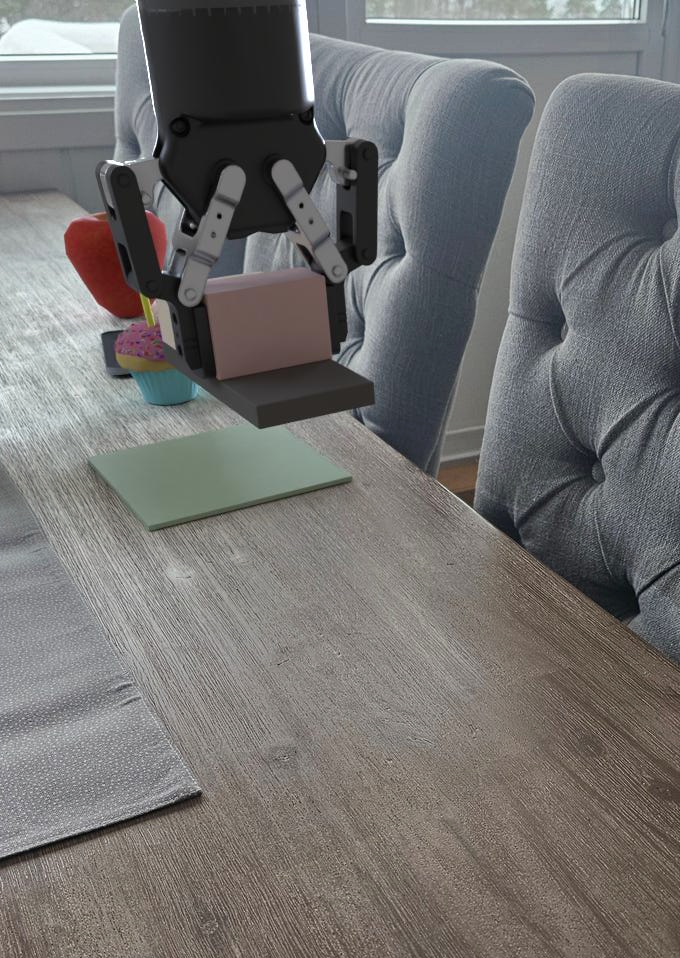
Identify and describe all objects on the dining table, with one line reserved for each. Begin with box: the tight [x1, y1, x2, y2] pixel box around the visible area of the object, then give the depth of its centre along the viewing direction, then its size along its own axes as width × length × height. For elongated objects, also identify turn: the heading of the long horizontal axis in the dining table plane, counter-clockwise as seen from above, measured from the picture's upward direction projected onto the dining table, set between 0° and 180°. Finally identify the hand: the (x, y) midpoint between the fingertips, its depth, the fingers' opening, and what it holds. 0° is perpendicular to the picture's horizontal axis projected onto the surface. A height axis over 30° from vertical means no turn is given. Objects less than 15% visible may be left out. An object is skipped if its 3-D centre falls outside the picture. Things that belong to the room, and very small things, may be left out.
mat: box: [86, 422, 353, 532], centre depth 89 cm, size 16×16×1 cm
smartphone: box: [100, 329, 131, 376], centre depth 116 cm, size 8×1×15 cm
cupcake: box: [114, 294, 199, 406], centre depth 101 cm, size 9×8×12 cm
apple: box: [63, 210, 169, 318], centre depth 127 cm, size 11×11×12 cm
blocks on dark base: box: [155, 266, 376, 429], centre depth 59 cm, size 14×6×6 cm, turn 32°
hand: (267, 362), depth 60 cm, fingers closed on blocks on dark base, 6 cm apart
